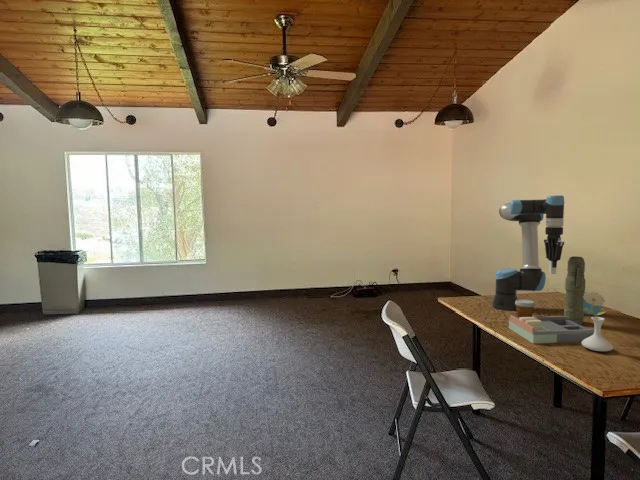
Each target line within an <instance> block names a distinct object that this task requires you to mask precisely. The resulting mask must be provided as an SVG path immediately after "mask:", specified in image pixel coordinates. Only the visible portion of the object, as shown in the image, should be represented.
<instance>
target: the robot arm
mask: <svg viewBox="0 0 640 480" xmlns="http://www.w3.org/2000/svg"><path fill="white" fill-rule="evenodd" d="M498 213H499V215H500V218H502V219H503V220H507V221H508V222H509V221H510V222H518V225H519V226H520V227H521V253H522V254H521V257H522V259H521V260H522V261H521V262H522V265H521V266H520V268H519V271H518V269H517V268H508V267H507V268H501V269H498V270H497V271H496V272H495V293H494V296H493V299H492V302H491V306H492V307H493V308H495V309H498V310H506V311H514V310H516V304H515V302H516V300H518V296H517V291H525V292H526V291H527V292H540V291H543V289H544V287H545V284H546V279H547V277H546V273H545V271H543V270H542V268H541V266H540V264H539V263H540V261H539V236H538V233H539V231H538V230H539V229H538V227H539V225H540V224H541V222H543V220H544V215H545V226H546V227H545V231H544V232H545V235H547V237H546V239H543V243H544V247H545V257H546V259H547V260H548V261H549V262H548V264H549V265H548V267H549V268H548V274H549V275H556V274H557V267H558V266H557V265H558V263H557V262H558V261H561V257H562V252H563V247H564V245H565V241H562V237H561V235H563V234H564V217H565V216H564V214H565V196H564V195H556V194H555V195H547V196H546V198H545V199H513V200H510V201H509V202H507V203H504V204H502V205H501V206H500V207H499V210H498ZM516 311H517V310H516Z"/></svg>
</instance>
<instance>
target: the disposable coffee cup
mask: <svg viewBox="0 0 640 480" xmlns="http://www.w3.org/2000/svg"><path fill="white" fill-rule="evenodd" d="M517 299H518V298H517ZM515 304H516V317H533V315H534V308H535V306H536V304H535V301H533V300H532V299H527V298H526V299H524V298H522V299H521V298H519V299H518V300H516V302H515Z"/></svg>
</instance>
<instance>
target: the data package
mask: <svg viewBox="0 0 640 480" xmlns="http://www.w3.org/2000/svg"><path fill="white" fill-rule="evenodd" d="M586 292H587V291H584V295H585V293H586ZM593 292H594V293H596V292H595V291H593ZM585 308H588V309H590V310H593V312H594V313H595V315H596V314H598V313H600V312H602V311H601V310H602V309H601V308H602V305H600V306H594V305H593V307H592V304H589V303H587V302H586V300H584V299H583V310H584V309H585ZM591 308H592V309H591ZM593 312H591V313H587V312H585V311H584V315H591V316H592V315H593V316H595V315H594V313H593ZM596 316H597V315H596Z"/></svg>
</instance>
